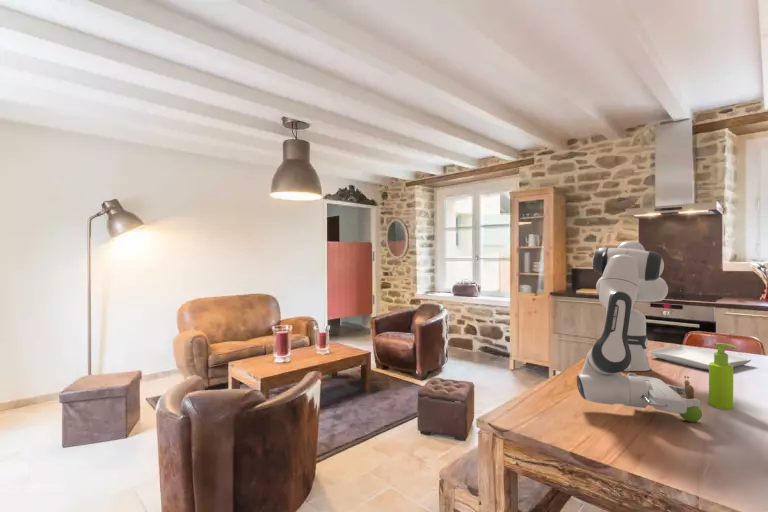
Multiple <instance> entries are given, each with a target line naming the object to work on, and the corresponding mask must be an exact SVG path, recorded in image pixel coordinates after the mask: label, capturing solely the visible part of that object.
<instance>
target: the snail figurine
mask: <svg viewBox="0 0 768 512" xmlns="http://www.w3.org/2000/svg"><path fill="white" fill-rule="evenodd" d="M683 377H684V389H685V395H684V396H685V399H691V398H695V389H694V387H693V385H691V384H690V380H689V379H690V376H686V375H684V376H683ZM702 411H703V410H702V409H701V408H700V406H699V407H697V406H692V407H687V412H686V413H682V414H681V413H678V414H679V416H680V417H681V418H682V419H683V420H685V421H686V422H691V423H694V422H698V421H700V420H701V419H702V416H703V412H702Z"/></svg>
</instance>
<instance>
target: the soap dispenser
mask: <svg viewBox="0 0 768 512" xmlns="http://www.w3.org/2000/svg"><path fill="white" fill-rule="evenodd" d="M714 346H717V351H715V352H716V353H714V362H711V363H709V370H708V405H709V406H711V407H713V408H717V409H720V410H727V411H728V410H733V409H734V367H733V366H732V365H729V364H728V355H729V354H728V353H727V352H726V351H725V349H726V348H725V347H727V348H730V349H739V346H736V345H733V344H730V343H726V342H725V343H724V342H714Z"/></svg>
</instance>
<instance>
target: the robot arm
mask: <svg viewBox="0 0 768 512" xmlns="http://www.w3.org/2000/svg"><path fill="white" fill-rule="evenodd" d="M591 265H592V270H593V271H594V272H595V273H596V274H598V275H600V276H601V277H599V279H598V280H597V281H596V284H595V289H596V292H597V294H598V300H599V303H600V304H601V305H602V306H603V307H604V308H605V309H606V313H605V318H604V325H603V329H602V330H603V331H602V334H601V337H599V339H598V340H597V341H596V342H595V343H594V345H593V346H592V347H591V348H590V349H589V350H588V351H587V354H586V357H585V361H584V364H583V366H582V368H581V370H580V372H579V373H578V374H577V375H576V385H577V390H578V392H579V394H580V396H581V398H583V400H586V401H587V402H590V403H594V404H595V403H596V404H604V405H622V406H625V407H631V408H641V409H642V408H643V409H646V408H647V406H648V405H649V406H651V407H652V408H654V409H655V410H658V411H661V412H662V411H663V412H667V413H674V414H675V413H676V414H679V413H681V414H682V413H686V412H687V407H692V406H697V407H699V408H700V407H701V404H702V403H701V400H699V399H698V398H695V397H694V398H691V399H686V397H682V396H681V395H684V396H685V387H682V386H677V385H673V384H672V385H671V384H668V383H665V382H664V381H663V380H662V379H660V378H656V377H653V376H646V375H637V374H636V373H632V372H646V371H647V372H648V371H650V370H651V369H652V368H651V366H650V362H649V358H648V350H647V349H648V343H649V342H648V334H647V318H646V315H645V313H643V312H641V311H639V310H638V309H635V308H634V305H635V303H636V302H642V303H643V302H644V303H652V302H655V303H656V302H662V301H663V300H664V299H665V298H666V297H667V295H668V292H669V286H668V284H667V282H666V280H665V279H664V278H662V277H660V276H661V275H662V274H663V272H664V267H665V264H664V260H663V256H662V255H661V254H660V253H658V252H656V251H652V250H649V251H647V250H646V249H645V247H644V246H643V244H641V242H638V241H635V240H627V241H623V242H621V243H619V245H618V246H617V247H608V246H606V247H605V246H604V247H599V248H598V249H596V250H595V252H594V254H593V256H592V259H591ZM621 372H629V373H627V375H623V374H622V373H621Z"/></svg>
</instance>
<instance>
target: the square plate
mask: <svg viewBox="0 0 768 512" xmlns="http://www.w3.org/2000/svg"><path fill="white" fill-rule="evenodd" d="M716 352H717V351H715V350H710V349H703V348H697V347H693V346H686V345H677V346H669V347H668V346H667V347H662V348H661V347H660V348H657V349H651V350H647V353H649V354H650V355H652V356H653V357H655V358H658V359H661V360H664V361H667V362H672V363H675V364H678V365H679V364H680V365H683V366H687V365H688V367H691V368H695V369H696V368H697V369H701V370H704V371H705V370H706V371H709V363H711V362H714V353H716ZM751 361H752V359H750V358H745V357H741V356H736V355H731V354H728V364H729V365H732V366H733V368H734V367H739V366H744V365H747V364H749V363H750V362H751Z"/></svg>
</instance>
